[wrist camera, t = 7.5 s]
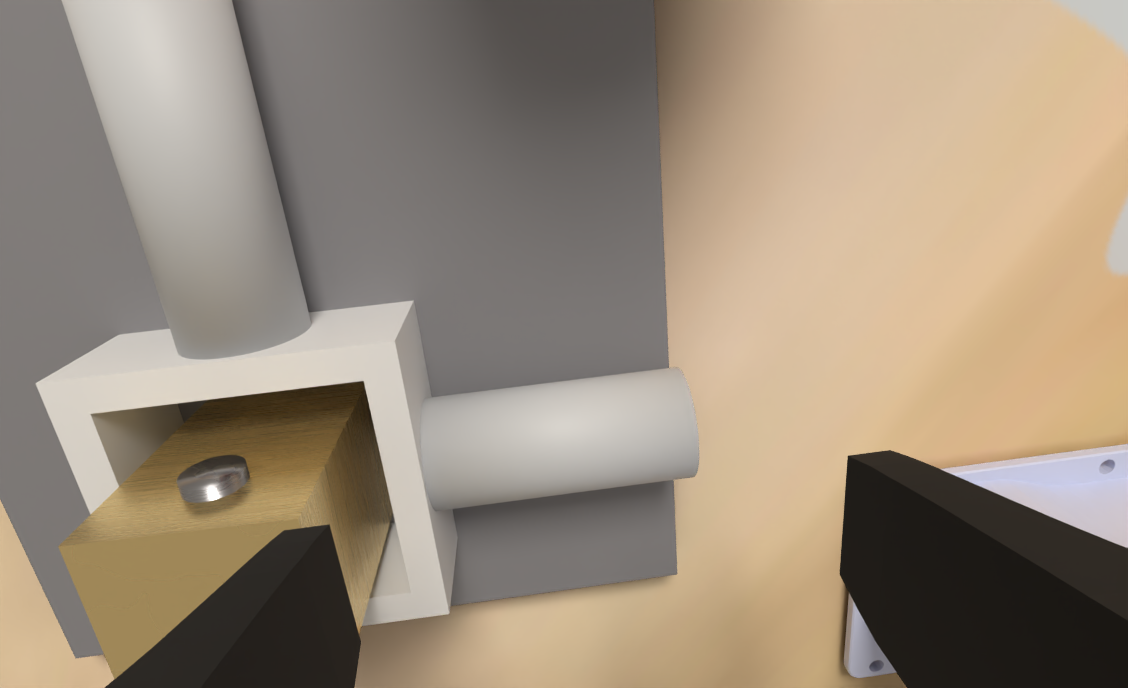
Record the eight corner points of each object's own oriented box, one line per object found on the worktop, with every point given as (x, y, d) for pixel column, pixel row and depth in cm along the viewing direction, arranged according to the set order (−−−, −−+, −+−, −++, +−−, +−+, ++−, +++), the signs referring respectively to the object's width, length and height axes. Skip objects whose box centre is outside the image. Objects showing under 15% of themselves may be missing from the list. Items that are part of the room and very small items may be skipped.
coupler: (365, 370, 17) (294, 503, 11) (394, 519, 18) (346, 702, 13) (206, 387, 16) (51, 531, 11) (251, 536, 18) (136, 730, 12)
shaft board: (639, -103, 14) (687, -178, 11) (669, 553, 21) (706, 651, 17) (-203, -31, 13) (-476, -85, 10) (95, 632, 20) (0, 754, 16)
